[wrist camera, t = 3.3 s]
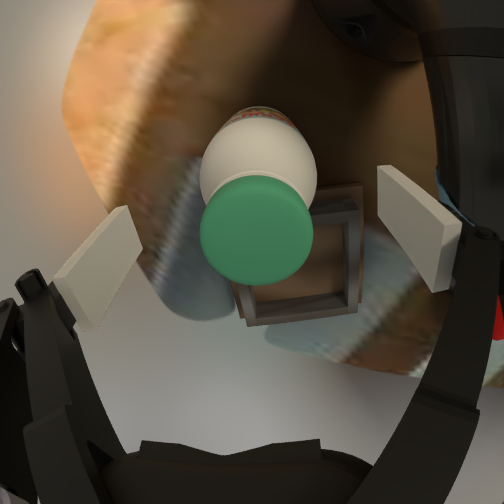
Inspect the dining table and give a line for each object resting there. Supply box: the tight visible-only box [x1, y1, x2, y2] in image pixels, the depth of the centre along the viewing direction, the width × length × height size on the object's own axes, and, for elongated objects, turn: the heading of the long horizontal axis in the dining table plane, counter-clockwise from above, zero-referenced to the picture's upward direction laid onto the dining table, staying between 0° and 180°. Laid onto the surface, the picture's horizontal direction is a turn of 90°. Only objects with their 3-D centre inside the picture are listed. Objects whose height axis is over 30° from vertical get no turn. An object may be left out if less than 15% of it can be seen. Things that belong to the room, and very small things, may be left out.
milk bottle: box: [199, 106, 317, 286], centre depth 20 cm, size 8×8×20 cm
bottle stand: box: [230, 182, 364, 327], centre depth 34 cm, size 16×16×4 cm
